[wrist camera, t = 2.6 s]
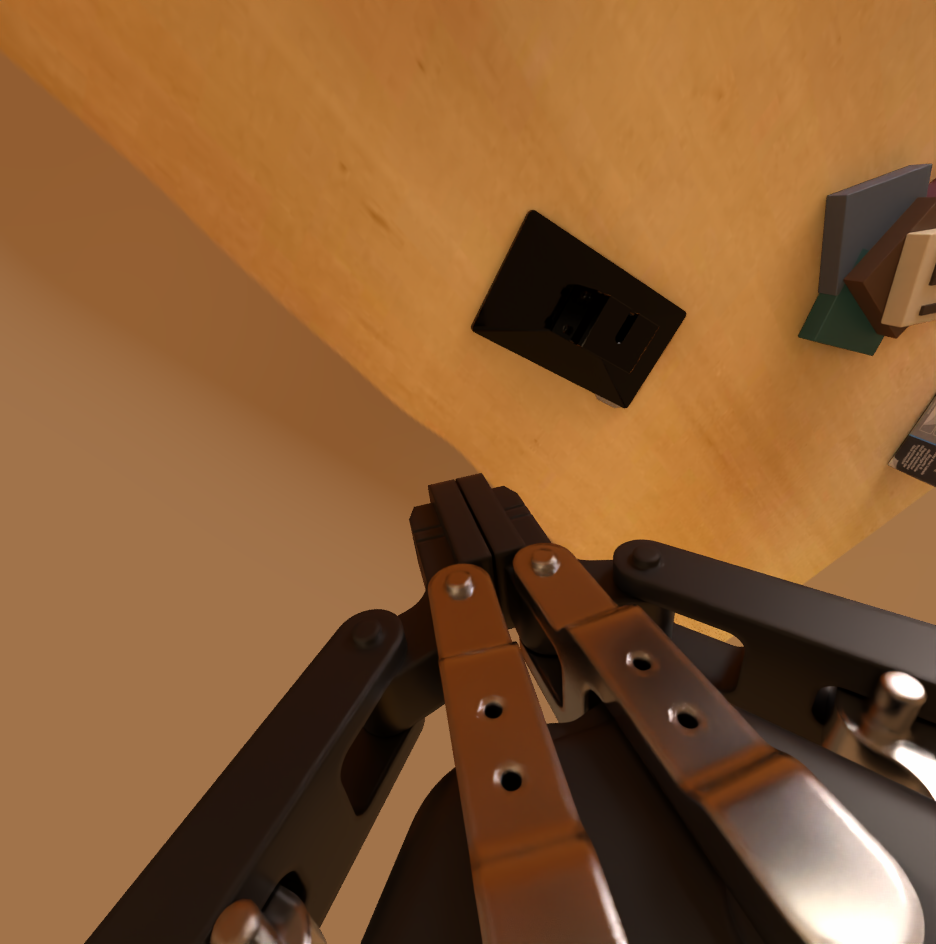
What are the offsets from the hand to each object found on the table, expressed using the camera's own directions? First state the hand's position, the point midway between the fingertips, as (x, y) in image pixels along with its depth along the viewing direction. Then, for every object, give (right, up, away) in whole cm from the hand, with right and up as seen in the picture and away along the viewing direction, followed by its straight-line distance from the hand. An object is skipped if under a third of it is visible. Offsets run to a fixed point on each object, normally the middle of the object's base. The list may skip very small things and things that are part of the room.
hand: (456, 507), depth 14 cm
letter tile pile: (+29, +15, +20) cm, 38 cm away
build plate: (+7, +10, +16) cm, 21 cm away
